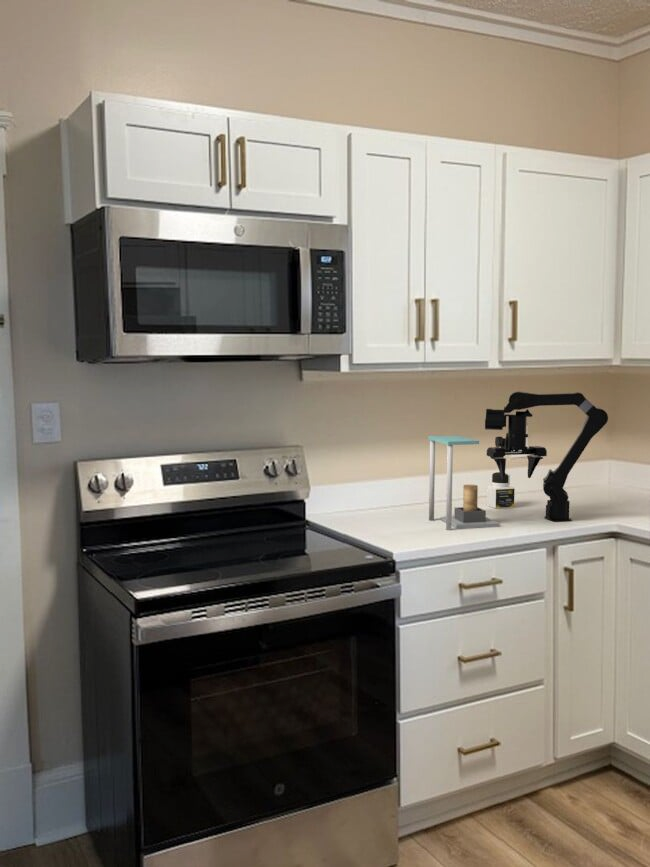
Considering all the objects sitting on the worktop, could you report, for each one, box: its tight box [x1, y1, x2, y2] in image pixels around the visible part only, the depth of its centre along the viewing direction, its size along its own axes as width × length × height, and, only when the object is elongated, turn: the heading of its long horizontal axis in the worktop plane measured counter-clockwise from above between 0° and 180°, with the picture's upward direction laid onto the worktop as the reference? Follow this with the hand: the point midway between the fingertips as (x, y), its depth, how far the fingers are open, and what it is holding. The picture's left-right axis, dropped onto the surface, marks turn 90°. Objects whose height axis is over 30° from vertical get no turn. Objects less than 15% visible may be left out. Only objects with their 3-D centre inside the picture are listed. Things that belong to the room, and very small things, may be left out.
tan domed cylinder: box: [462, 484, 479, 511], centre depth 273 cm, size 4×4×11 cm
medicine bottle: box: [486, 471, 516, 510], centre depth 303 cm, size 7×7×12 cm
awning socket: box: [427, 435, 501, 531], centre depth 272 cm, size 18×17×27 cm
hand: (516, 478), depth 282 cm, fingers open, 9 cm apart
